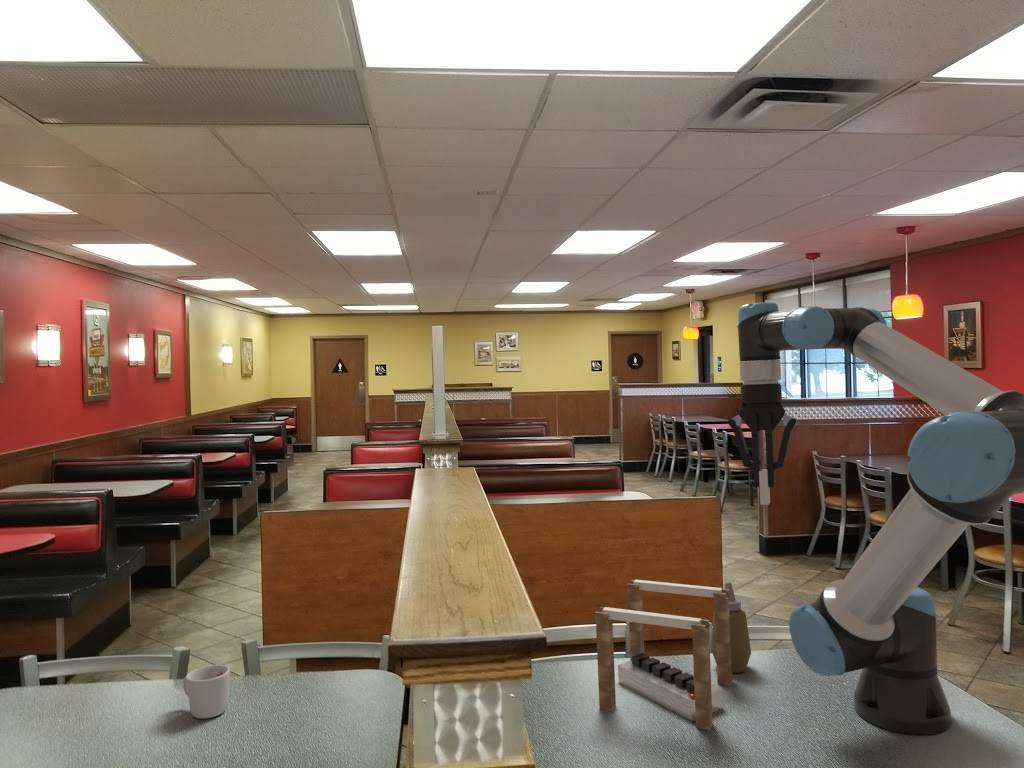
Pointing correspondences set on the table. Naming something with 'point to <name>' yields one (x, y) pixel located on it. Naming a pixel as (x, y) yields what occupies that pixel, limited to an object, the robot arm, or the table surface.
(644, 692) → the breaker strip
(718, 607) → the posts
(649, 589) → the white crossbar
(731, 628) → the squeeze bottle
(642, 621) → the long white bar
